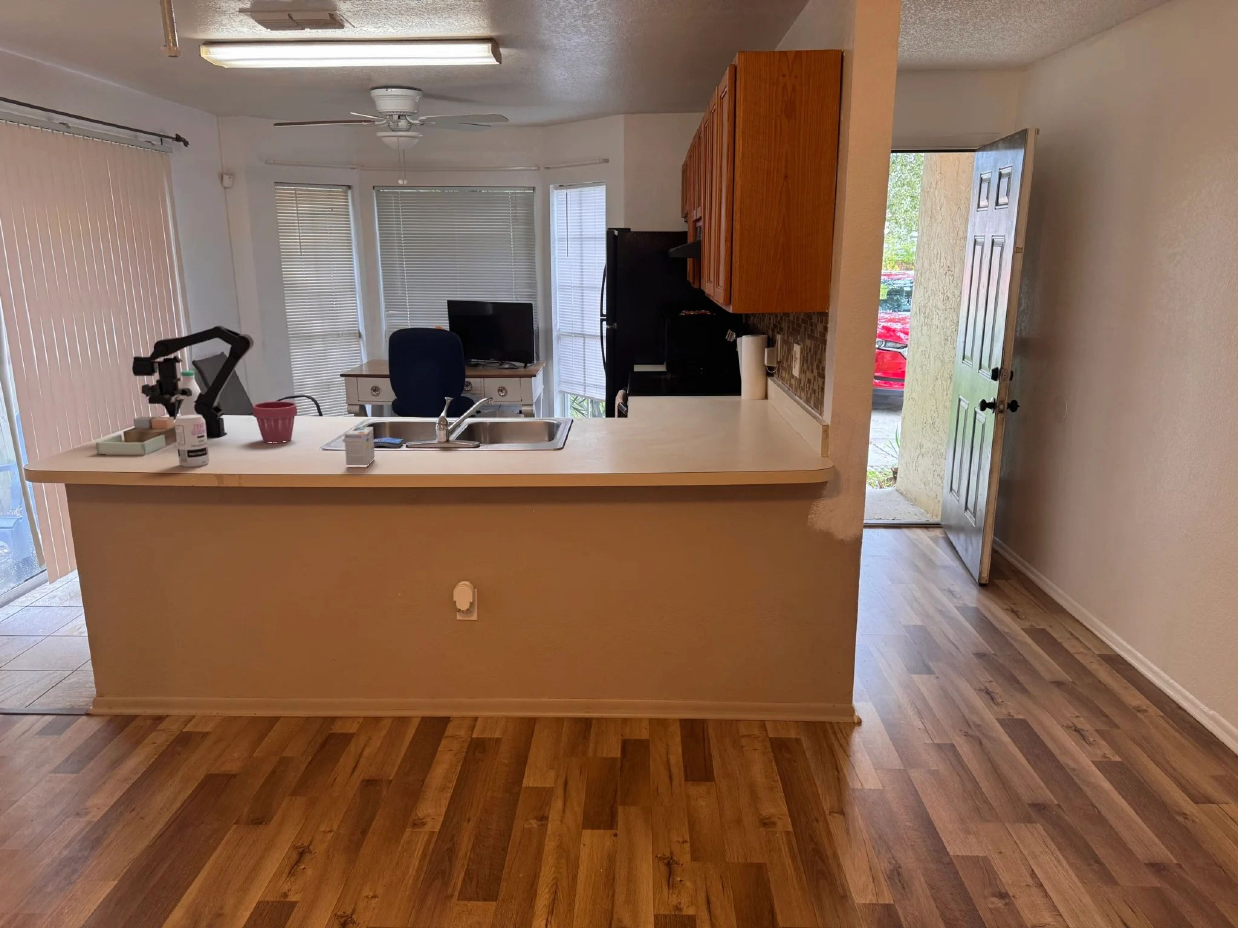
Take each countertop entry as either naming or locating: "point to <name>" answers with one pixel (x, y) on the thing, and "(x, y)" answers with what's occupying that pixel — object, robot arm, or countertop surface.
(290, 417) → the plant pot
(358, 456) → the light bulb box
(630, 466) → the countertop surface
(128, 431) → the walnut block
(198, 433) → the supplement can
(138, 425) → the pale grey squat block
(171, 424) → the peach square prism
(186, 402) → the milk bottle
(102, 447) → the sage tray
